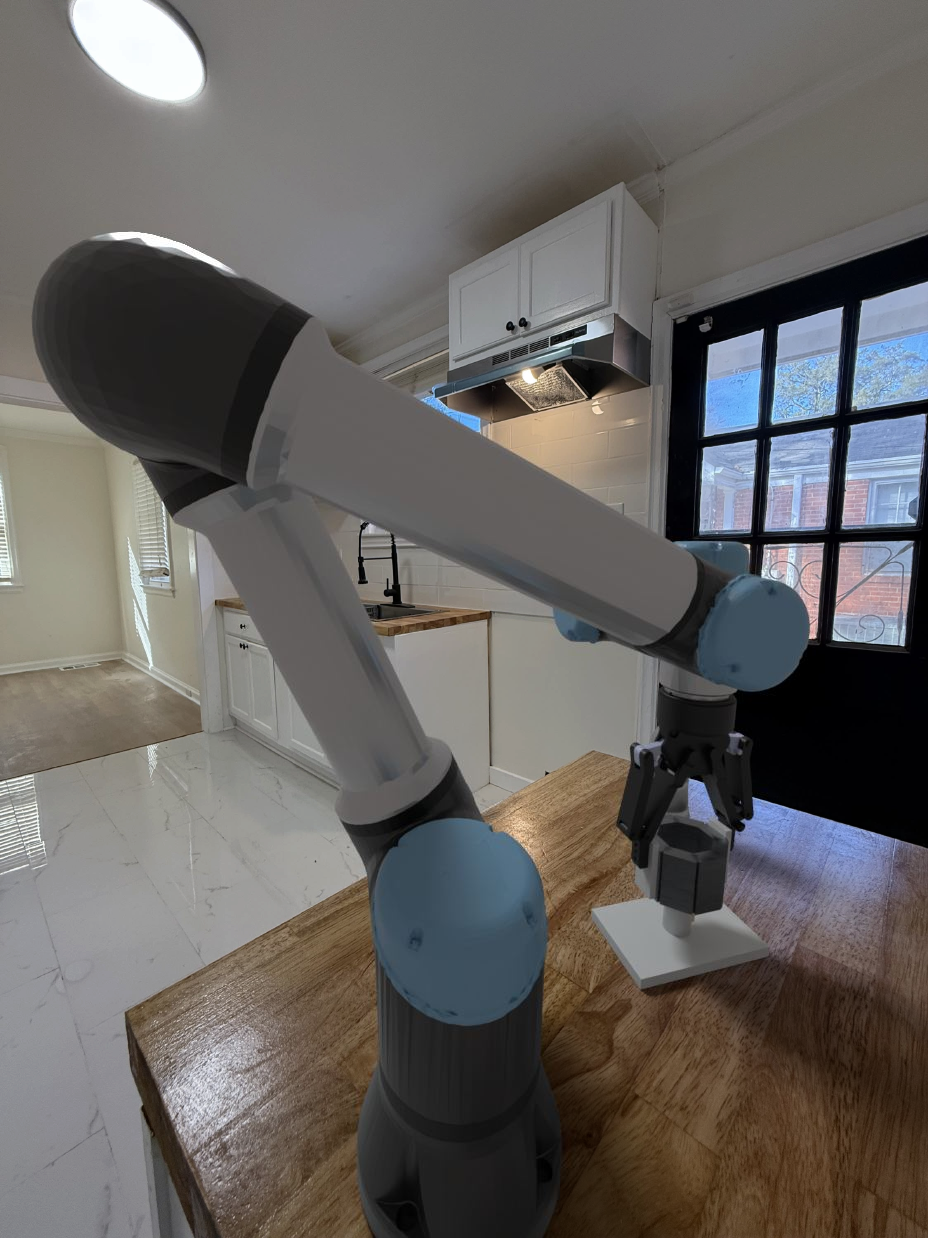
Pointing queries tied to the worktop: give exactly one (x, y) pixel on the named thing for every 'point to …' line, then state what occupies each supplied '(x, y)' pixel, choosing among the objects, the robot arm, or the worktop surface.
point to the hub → (690, 865)
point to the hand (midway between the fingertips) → (680, 883)
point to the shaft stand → (675, 940)
